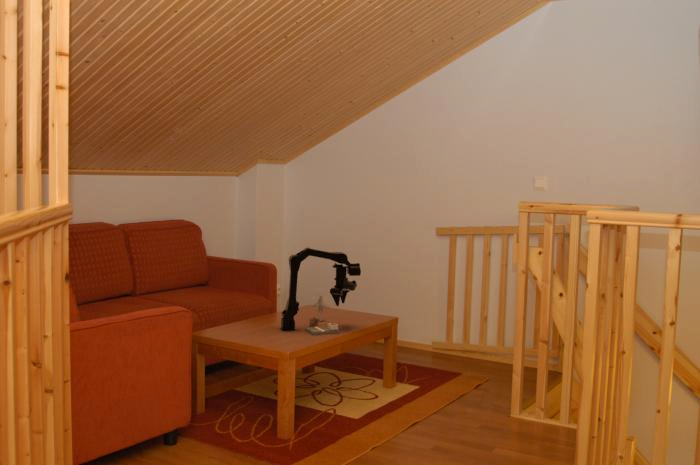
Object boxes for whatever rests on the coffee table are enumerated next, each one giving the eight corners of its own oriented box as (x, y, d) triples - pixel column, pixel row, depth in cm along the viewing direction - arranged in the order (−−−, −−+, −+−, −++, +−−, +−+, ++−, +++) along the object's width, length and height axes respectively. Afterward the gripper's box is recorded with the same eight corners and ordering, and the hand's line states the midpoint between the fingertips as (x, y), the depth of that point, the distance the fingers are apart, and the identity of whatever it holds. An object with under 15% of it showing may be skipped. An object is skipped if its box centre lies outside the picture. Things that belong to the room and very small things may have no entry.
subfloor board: (313, 335, 404) (313, 331, 404) (304, 330, 415) (304, 327, 415) (339, 333, 410) (339, 330, 410) (331, 328, 421) (331, 325, 421)
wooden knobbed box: (311, 328, 420) (312, 317, 420) (309, 327, 423) (309, 316, 423) (318, 328, 422) (318, 317, 421) (315, 326, 425) (315, 316, 424)
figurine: (330, 321, 440) (331, 295, 439) (326, 322, 437) (327, 296, 435) (313, 319, 446) (313, 293, 444) (309, 320, 442) (310, 294, 441)
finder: (331, 329, 409) (331, 324, 409) (327, 327, 414) (327, 322, 413) (338, 329, 411) (338, 324, 411) (334, 327, 415) (334, 322, 415)
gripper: (349, 279, 409) (349, 308, 410) (360, 274, 426) (359, 303, 428) (329, 277, 412) (329, 307, 413) (341, 273, 430) (340, 301, 431)
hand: (340, 304), depth 421 cm, fingers open, 9 cm apart
